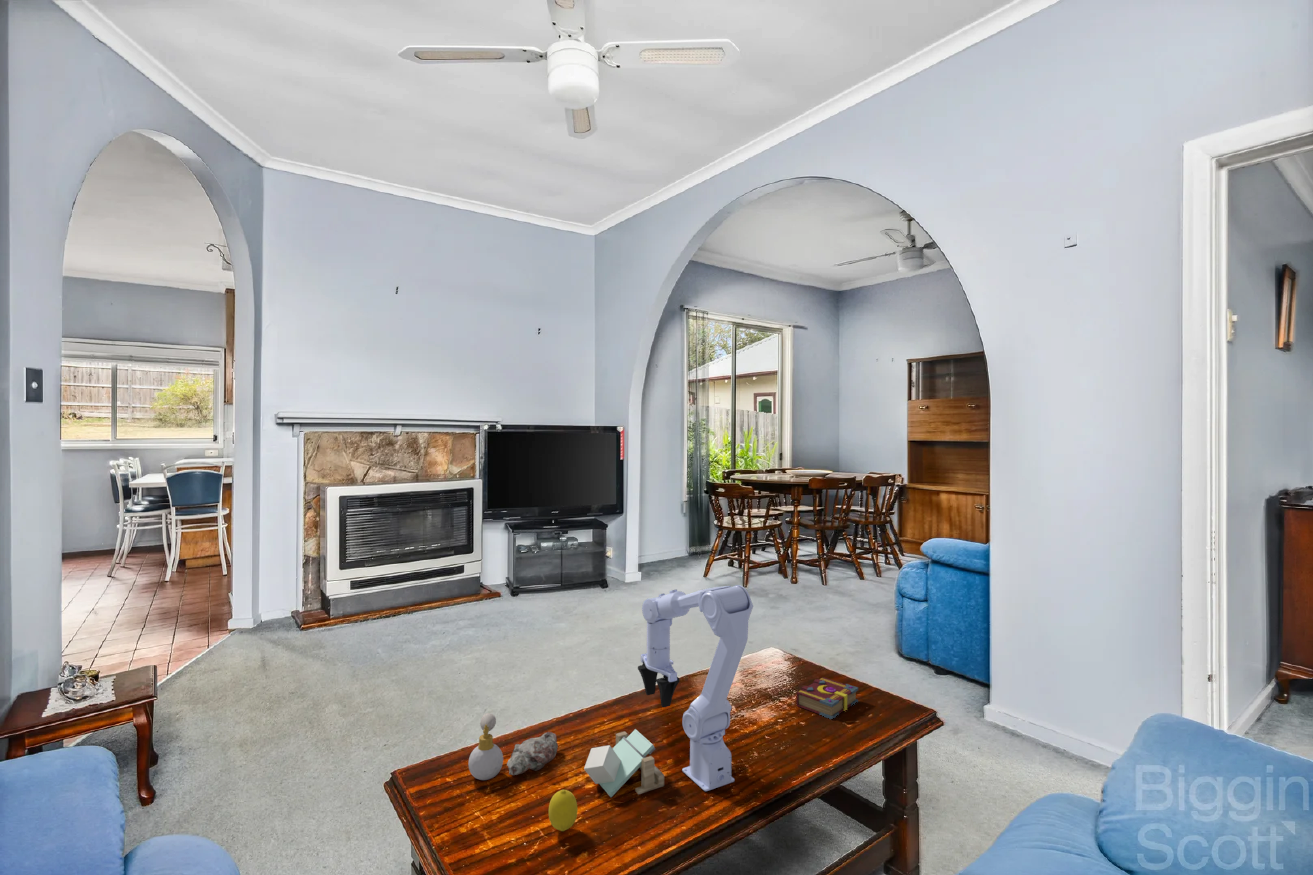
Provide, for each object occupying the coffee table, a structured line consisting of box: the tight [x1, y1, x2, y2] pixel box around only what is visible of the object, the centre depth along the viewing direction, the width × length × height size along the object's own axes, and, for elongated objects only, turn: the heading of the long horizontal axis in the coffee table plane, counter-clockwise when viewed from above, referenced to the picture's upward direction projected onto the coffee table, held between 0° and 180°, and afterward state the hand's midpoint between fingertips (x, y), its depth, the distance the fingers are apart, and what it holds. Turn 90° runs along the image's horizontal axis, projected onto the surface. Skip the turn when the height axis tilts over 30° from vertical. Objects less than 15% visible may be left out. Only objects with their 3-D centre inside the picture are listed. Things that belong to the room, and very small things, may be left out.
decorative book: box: [796, 676, 859, 720], centre depth 176 cm, size 11×16×5 cm
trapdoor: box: [598, 728, 656, 798], centre depth 138 cm, size 11×14×2 cm
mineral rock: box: [506, 731, 559, 776], centre depth 144 cm, size 15×8×4 cm, turn 134°
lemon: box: [548, 789, 578, 832], centre depth 120 cm, size 6×6×8 cm
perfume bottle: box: [468, 712, 504, 781], centre depth 140 cm, size 8×10×12 cm
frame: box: [615, 731, 665, 795], centre depth 140 cm, size 14×6×7 cm, turn 30°
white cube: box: [583, 745, 621, 785], centre depth 136 cm, size 5×5×5 cm
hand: (658, 699), depth 154 cm, fingers open, 7 cm apart
